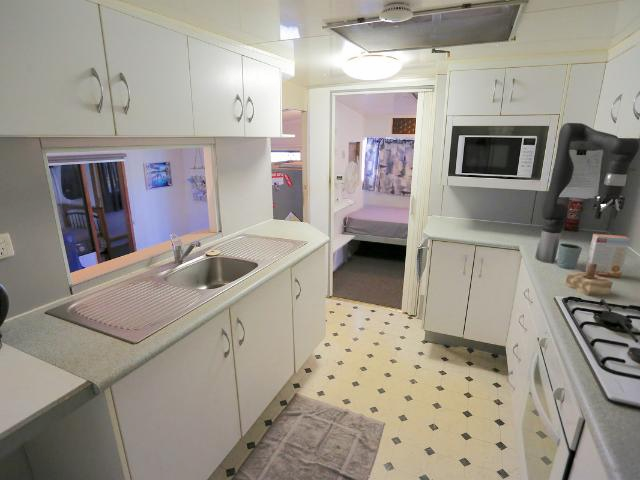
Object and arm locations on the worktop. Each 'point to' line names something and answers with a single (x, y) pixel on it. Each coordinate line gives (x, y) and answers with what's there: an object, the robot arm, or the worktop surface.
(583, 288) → the oak bore block
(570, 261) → the teal ceramic cylinder
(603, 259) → the cracker box
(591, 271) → the walnut peg
